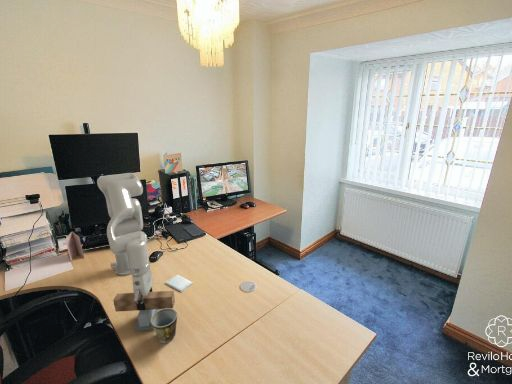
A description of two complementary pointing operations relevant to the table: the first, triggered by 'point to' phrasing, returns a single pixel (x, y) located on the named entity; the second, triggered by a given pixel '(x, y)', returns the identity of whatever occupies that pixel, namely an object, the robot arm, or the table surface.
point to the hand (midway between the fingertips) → (145, 301)
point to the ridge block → (145, 320)
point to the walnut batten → (145, 301)
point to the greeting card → (74, 245)
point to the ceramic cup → (165, 324)
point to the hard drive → (179, 283)
